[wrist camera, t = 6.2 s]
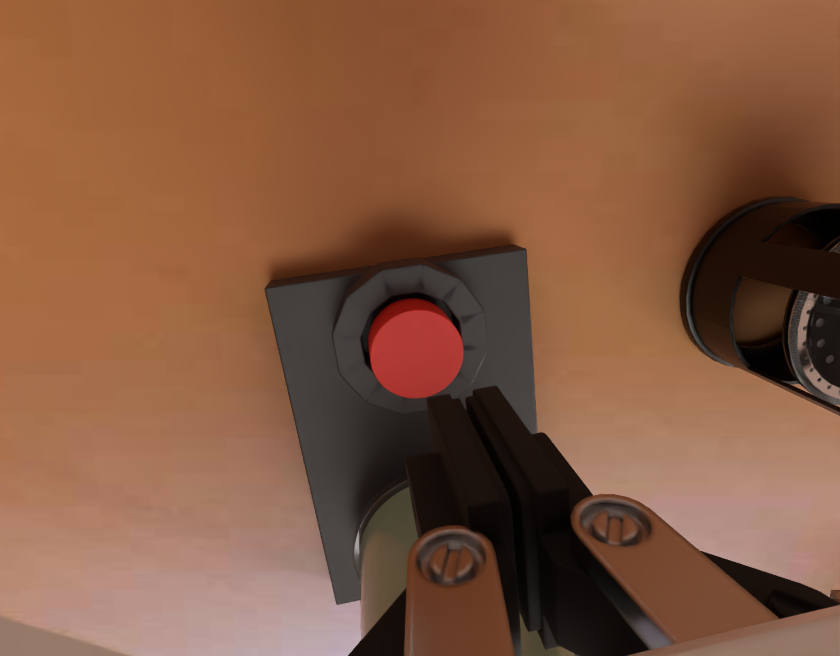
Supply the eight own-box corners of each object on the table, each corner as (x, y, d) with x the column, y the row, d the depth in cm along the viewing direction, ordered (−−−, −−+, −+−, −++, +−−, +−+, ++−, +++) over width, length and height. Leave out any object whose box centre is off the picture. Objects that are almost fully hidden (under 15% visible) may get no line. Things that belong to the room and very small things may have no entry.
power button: (361, 305, 21) (362, 317, 19) (448, 291, 21) (458, 302, 19) (375, 386, 22) (377, 406, 20) (457, 372, 22) (468, 390, 20)
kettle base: (268, 273, 23) (254, 288, 20) (514, 236, 24) (540, 245, 21) (337, 581, 28) (335, 634, 25) (534, 540, 30) (558, 585, 26)
